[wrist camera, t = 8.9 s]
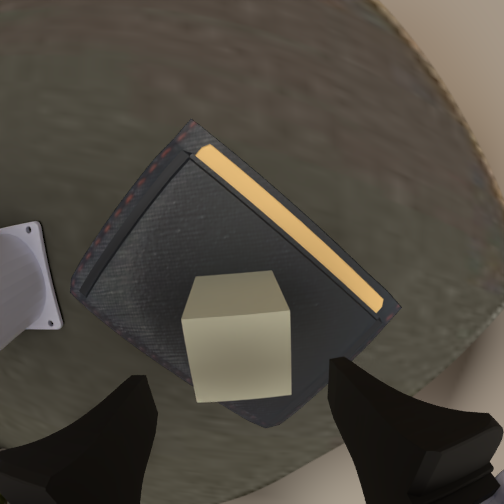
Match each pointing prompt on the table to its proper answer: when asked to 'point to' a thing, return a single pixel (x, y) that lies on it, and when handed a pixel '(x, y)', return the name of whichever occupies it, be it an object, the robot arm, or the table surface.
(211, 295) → the block
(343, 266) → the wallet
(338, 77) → the table surface
